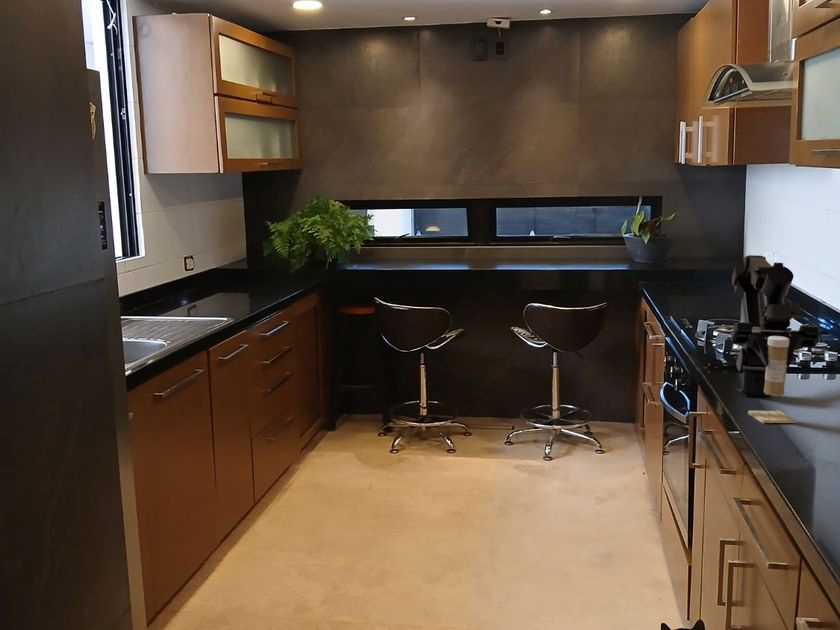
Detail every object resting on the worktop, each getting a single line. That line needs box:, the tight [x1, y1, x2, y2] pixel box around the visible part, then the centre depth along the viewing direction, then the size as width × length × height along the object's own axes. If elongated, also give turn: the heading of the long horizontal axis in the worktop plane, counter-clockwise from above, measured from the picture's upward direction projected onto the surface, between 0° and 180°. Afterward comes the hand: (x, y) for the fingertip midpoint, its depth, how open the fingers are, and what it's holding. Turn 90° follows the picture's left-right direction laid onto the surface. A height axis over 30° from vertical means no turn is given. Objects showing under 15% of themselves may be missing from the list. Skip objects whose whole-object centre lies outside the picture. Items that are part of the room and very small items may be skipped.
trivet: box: [747, 410, 797, 425], centre depth 195 cm, size 8×8×1 cm
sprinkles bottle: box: [764, 336, 789, 397], centre depth 193 cm, size 5×5×13 cm
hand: (777, 365), depth 191 cm, fingers closed on sprinkles bottle, 4 cm apart
